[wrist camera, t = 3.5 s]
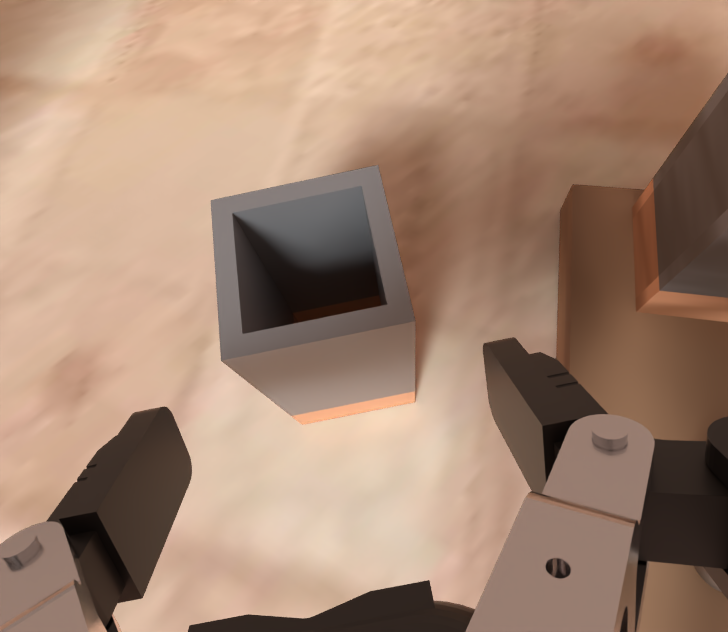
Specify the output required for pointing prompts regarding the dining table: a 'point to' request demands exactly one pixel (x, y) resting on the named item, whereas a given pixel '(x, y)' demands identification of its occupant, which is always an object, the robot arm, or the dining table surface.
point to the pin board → (656, 321)
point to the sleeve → (315, 296)
